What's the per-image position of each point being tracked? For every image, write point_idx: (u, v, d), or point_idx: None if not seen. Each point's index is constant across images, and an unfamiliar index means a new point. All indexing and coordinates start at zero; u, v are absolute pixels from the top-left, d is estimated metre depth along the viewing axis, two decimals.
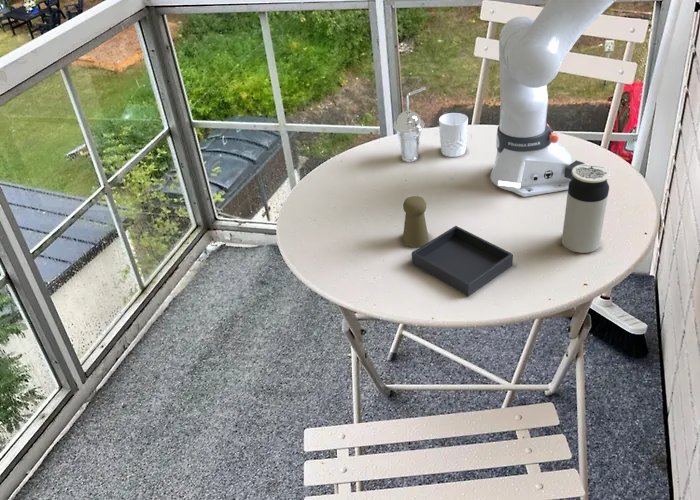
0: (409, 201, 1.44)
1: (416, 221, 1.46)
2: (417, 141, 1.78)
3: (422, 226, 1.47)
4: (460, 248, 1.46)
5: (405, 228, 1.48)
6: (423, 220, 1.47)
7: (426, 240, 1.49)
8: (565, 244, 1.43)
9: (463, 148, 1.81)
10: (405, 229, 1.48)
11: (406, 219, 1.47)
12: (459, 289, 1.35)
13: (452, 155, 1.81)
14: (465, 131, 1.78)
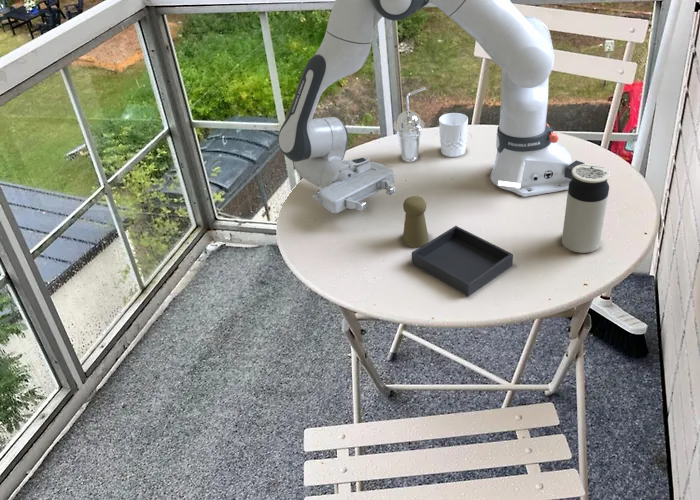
0: (409, 201, 1.44)
1: (416, 221, 1.46)
2: (417, 141, 1.78)
3: (422, 226, 1.47)
4: (460, 248, 1.46)
5: (405, 228, 1.48)
6: (423, 220, 1.47)
7: (426, 240, 1.49)
8: (565, 244, 1.43)
9: (463, 148, 1.81)
10: (405, 229, 1.48)
11: (406, 219, 1.47)
12: (459, 289, 1.35)
13: (452, 155, 1.81)
14: (465, 131, 1.78)
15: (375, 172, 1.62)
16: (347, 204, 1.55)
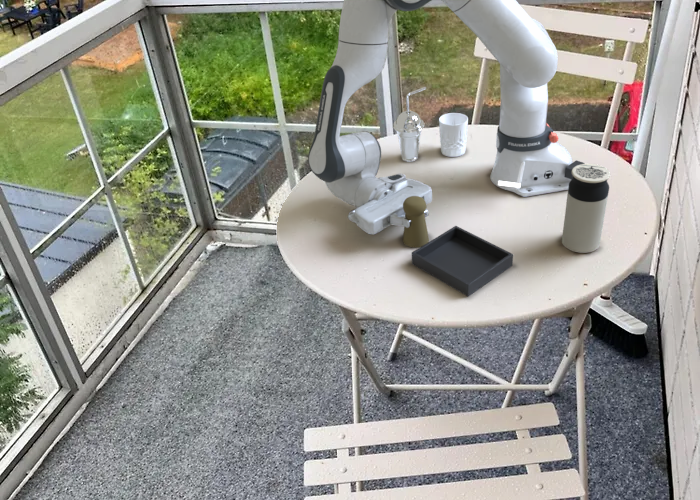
0: (409, 201, 1.44)
1: (416, 221, 1.46)
2: (417, 141, 1.78)
3: (422, 226, 1.47)
4: (460, 248, 1.46)
5: (405, 228, 1.48)
6: (423, 220, 1.46)
7: (426, 240, 1.49)
8: (565, 244, 1.43)
9: (463, 148, 1.81)
10: (405, 229, 1.48)
11: None
12: (459, 289, 1.35)
13: (452, 155, 1.81)
14: (465, 131, 1.78)
15: (413, 190, 1.54)
16: (392, 221, 1.47)
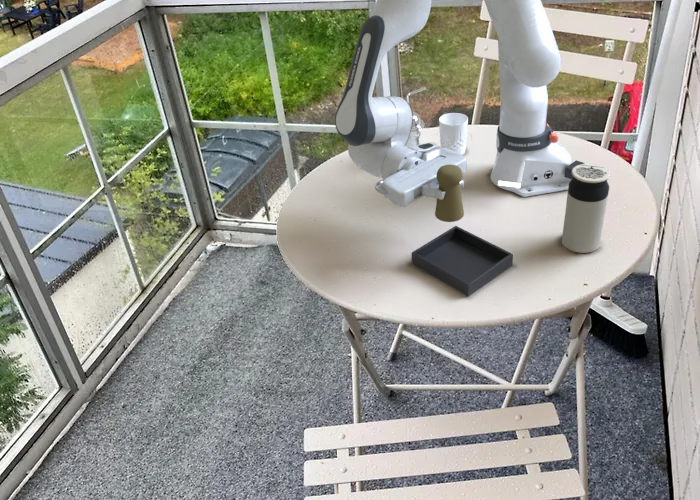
0: (444, 169, 1.31)
1: (451, 192, 1.32)
2: (417, 141, 1.78)
3: (458, 198, 1.33)
4: (460, 248, 1.46)
5: (438, 200, 1.34)
6: (459, 191, 1.33)
7: (461, 213, 1.35)
8: (565, 244, 1.43)
9: (463, 148, 1.81)
10: (438, 201, 1.35)
11: None
12: (459, 289, 1.35)
13: None
14: (465, 131, 1.78)
15: (446, 159, 1.40)
16: (424, 192, 1.34)
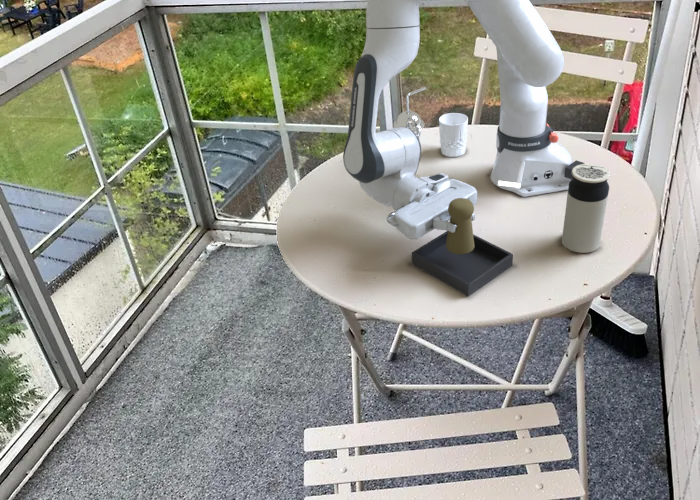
0: (456, 203, 1.32)
1: (463, 225, 1.33)
2: None
3: (469, 231, 1.35)
4: None
5: (450, 233, 1.36)
6: (470, 224, 1.34)
7: (472, 246, 1.37)
8: (565, 244, 1.43)
9: (463, 148, 1.81)
10: (449, 234, 1.36)
11: None
12: (459, 289, 1.35)
13: (452, 155, 1.81)
14: (465, 131, 1.78)
15: (457, 191, 1.42)
16: (436, 225, 1.35)
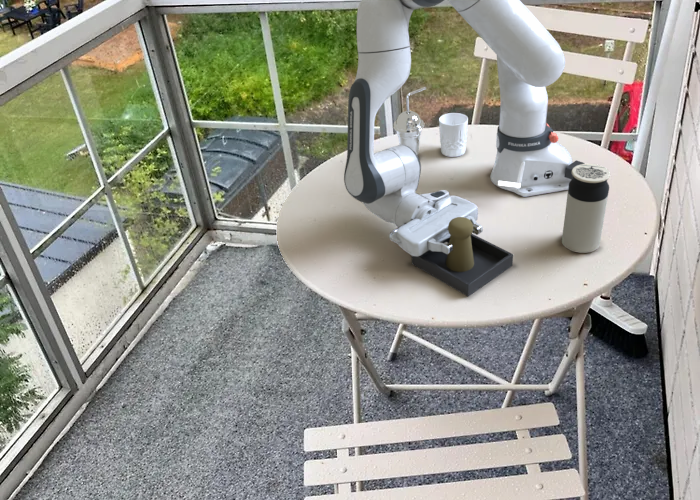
0: (455, 222, 1.35)
1: (462, 244, 1.36)
2: (417, 141, 1.78)
3: (468, 249, 1.37)
4: None
5: None
6: (469, 243, 1.37)
7: (472, 263, 1.40)
8: (565, 244, 1.43)
9: (463, 148, 1.81)
10: None
11: (451, 242, 1.37)
12: (459, 289, 1.35)
13: (452, 155, 1.81)
14: (465, 131, 1.78)
15: (458, 208, 1.44)
16: (430, 246, 1.37)
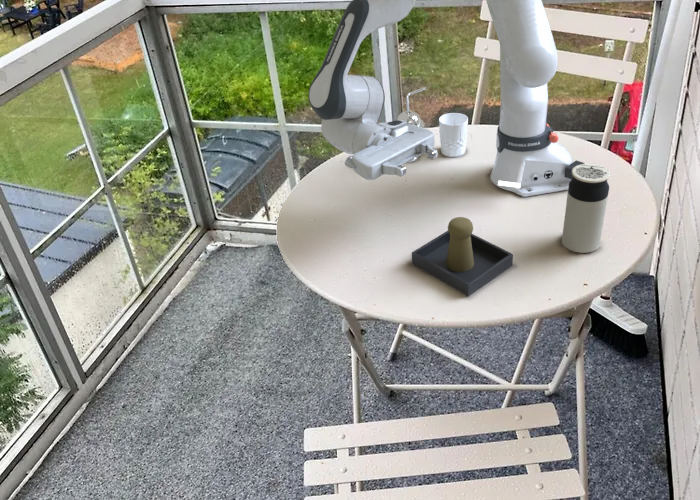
0: (455, 223, 1.35)
1: (462, 244, 1.36)
2: None
3: (468, 249, 1.37)
4: None
5: (449, 251, 1.39)
6: (469, 243, 1.37)
7: (472, 263, 1.40)
8: (565, 244, 1.43)
9: (463, 148, 1.81)
10: (449, 252, 1.39)
11: (451, 242, 1.37)
12: (459, 289, 1.35)
13: (452, 155, 1.81)
14: (465, 131, 1.78)
15: (414, 135, 1.45)
16: (384, 169, 1.37)
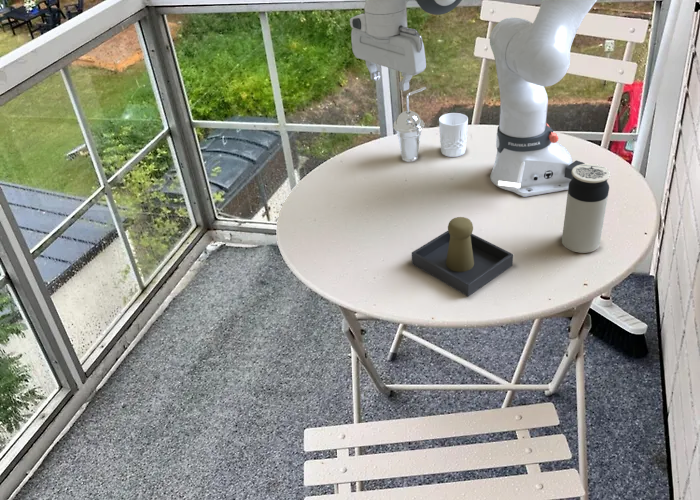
0: (455, 223, 1.35)
1: (462, 244, 1.36)
2: (417, 141, 1.78)
3: (468, 249, 1.37)
4: None
5: (449, 251, 1.39)
6: (469, 243, 1.37)
7: (472, 263, 1.40)
8: (565, 244, 1.43)
9: (463, 148, 1.81)
10: (449, 252, 1.39)
11: (451, 242, 1.37)
12: (459, 289, 1.35)
13: (452, 155, 1.81)
14: (465, 131, 1.78)
15: None
16: (409, 74, 1.41)
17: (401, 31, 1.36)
